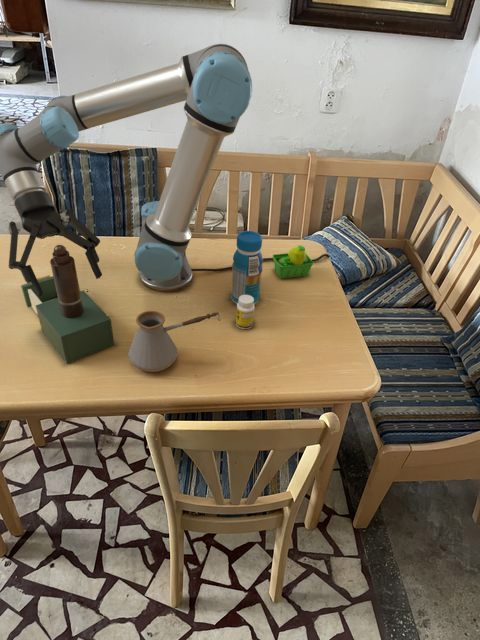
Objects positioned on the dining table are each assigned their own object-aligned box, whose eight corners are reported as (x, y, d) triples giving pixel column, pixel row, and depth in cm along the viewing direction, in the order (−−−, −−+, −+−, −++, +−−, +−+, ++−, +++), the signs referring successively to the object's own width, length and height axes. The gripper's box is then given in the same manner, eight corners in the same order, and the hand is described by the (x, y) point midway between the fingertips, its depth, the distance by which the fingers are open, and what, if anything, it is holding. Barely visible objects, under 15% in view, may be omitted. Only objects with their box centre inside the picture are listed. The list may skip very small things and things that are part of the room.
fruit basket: (302, 265, 159) (307, 233, 151) (313, 279, 152) (319, 247, 145) (269, 268, 155) (273, 236, 148) (280, 283, 149) (284, 250, 142)
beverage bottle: (226, 303, 138) (229, 240, 125) (234, 288, 145) (238, 226, 132) (255, 309, 137) (261, 246, 124) (262, 294, 144) (268, 232, 131)
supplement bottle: (235, 318, 133) (236, 293, 128) (252, 319, 134) (254, 293, 128) (235, 329, 129) (237, 303, 124) (253, 330, 130) (256, 304, 125)
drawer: (20, 298, 130) (14, 277, 126) (60, 286, 136) (56, 266, 132) (46, 331, 121) (41, 311, 117) (88, 317, 127) (85, 297, 122)
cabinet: (42, 331, 122) (35, 305, 117) (88, 315, 128) (83, 290, 123) (66, 363, 114) (60, 336, 109) (114, 345, 120) (110, 319, 115)
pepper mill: (84, 305, 118) (72, 239, 107) (82, 318, 115) (70, 251, 103) (62, 306, 117) (48, 239, 106) (59, 318, 114) (44, 251, 102)
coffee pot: (126, 377, 112) (119, 326, 102) (132, 345, 121) (126, 295, 111) (218, 378, 115) (221, 328, 105) (218, 347, 123) (220, 298, 114)
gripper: (81, 193, 117) (117, 274, 119) (-31, 216, 104) (12, 307, 106) (87, 179, 111) (126, 265, 113) (-31, 201, 98) (15, 298, 99)
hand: (71, 285), depth 109 cm, fingers open, 13 cm apart
